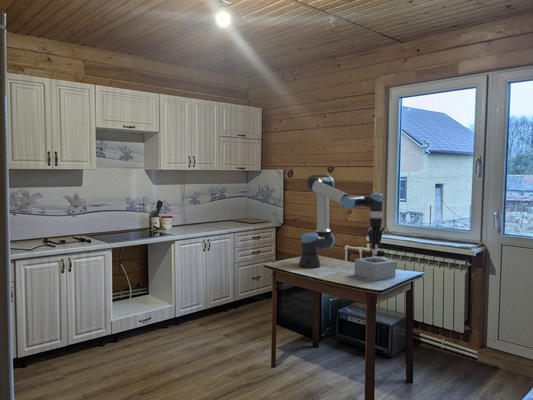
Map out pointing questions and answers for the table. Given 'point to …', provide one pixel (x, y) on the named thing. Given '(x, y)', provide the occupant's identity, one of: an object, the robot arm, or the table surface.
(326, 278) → the table surface
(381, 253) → the container
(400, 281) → the table surface
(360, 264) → the socket block
